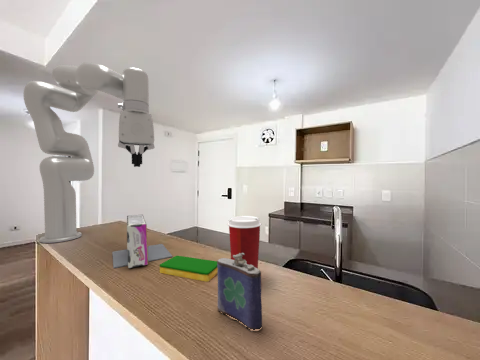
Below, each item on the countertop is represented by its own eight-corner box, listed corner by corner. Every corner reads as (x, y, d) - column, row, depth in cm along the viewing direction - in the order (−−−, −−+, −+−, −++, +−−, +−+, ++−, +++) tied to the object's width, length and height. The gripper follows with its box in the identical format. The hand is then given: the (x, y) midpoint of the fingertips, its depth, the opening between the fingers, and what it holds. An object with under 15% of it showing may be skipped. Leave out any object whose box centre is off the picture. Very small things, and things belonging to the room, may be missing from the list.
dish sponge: (207, 283, 49) (207, 273, 49) (158, 274, 54) (158, 264, 54) (221, 271, 56) (221, 261, 56) (176, 263, 61) (176, 254, 61)
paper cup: (264, 273, 53) (263, 216, 53) (258, 289, 46) (257, 222, 45) (233, 270, 55) (232, 214, 55) (222, 285, 48) (222, 220, 48)
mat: (112, 252, 69) (112, 251, 69) (162, 244, 77) (162, 243, 77) (113, 268, 57) (113, 267, 57) (172, 257, 65) (172, 256, 65)
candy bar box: (145, 246, 73) (148, 265, 58) (128, 249, 71) (127, 269, 56) (143, 213, 73) (147, 223, 58) (126, 214, 70) (125, 226, 56)
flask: (214, 310, 39) (214, 249, 39) (226, 303, 41) (226, 245, 41) (255, 335, 33) (255, 263, 33) (267, 325, 35) (267, 258, 35)
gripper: (109, 102, 64) (110, 165, 64) (162, 110, 72) (163, 166, 72) (109, 109, 70) (110, 166, 71) (158, 115, 78) (158, 167, 79)
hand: (137, 166), depth 72 cm, fingers closed
